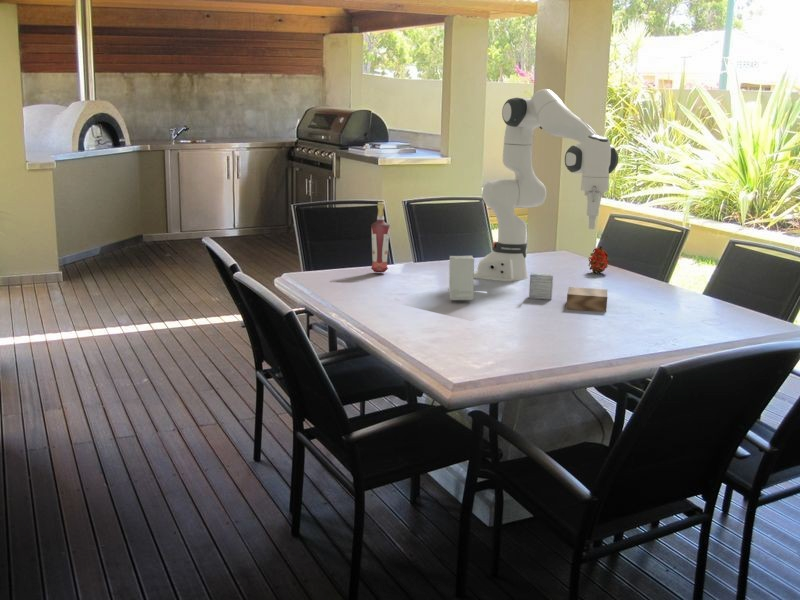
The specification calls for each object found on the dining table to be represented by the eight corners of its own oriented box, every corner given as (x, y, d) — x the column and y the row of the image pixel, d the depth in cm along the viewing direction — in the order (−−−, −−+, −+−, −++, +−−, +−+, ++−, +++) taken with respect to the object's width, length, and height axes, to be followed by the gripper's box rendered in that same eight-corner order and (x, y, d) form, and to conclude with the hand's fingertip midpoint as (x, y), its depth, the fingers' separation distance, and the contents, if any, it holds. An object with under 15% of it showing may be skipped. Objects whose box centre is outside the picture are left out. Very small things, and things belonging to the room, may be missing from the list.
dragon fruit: (584, 272, 352) (586, 243, 350) (605, 272, 352) (607, 244, 350) (589, 275, 344) (591, 246, 341) (610, 276, 344) (612, 247, 341)
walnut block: (566, 308, 282) (567, 294, 281) (568, 301, 294) (568, 286, 293) (606, 311, 279) (607, 296, 278) (606, 303, 292) (607, 289, 290)
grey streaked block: (552, 297, 300) (553, 273, 298) (551, 300, 295) (552, 275, 294) (529, 296, 301) (531, 272, 300) (528, 298, 297) (530, 274, 295)
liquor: (388, 273, 339) (389, 203, 333) (370, 272, 339) (371, 203, 333) (388, 270, 346) (390, 201, 340) (370, 269, 346) (372, 201, 340)
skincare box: (471, 296, 298) (473, 255, 294) (473, 300, 292) (475, 258, 289) (447, 296, 297) (449, 254, 294) (449, 300, 291) (451, 257, 288)
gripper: (604, 188, 268) (601, 231, 271) (604, 183, 287) (601, 224, 290) (584, 187, 269) (581, 230, 272) (585, 182, 289) (582, 223, 292)
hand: (591, 227), depth 282 cm, fingers open, 8 cm apart
